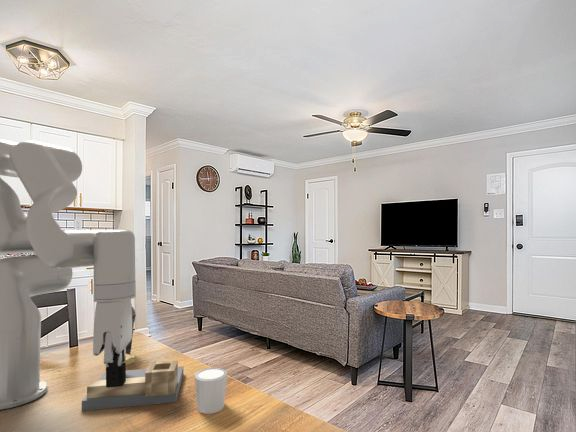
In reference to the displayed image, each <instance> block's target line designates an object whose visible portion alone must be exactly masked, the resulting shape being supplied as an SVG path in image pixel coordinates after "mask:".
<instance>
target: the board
mask: <svg viewBox="0 0 576 432" xmlns="http://www.w3.org/2000/svg"><path fill="white" fill-rule="evenodd" d="M184 367H185V366H181V365H180V366H178V382H177V386H176V389H175V393H174V394H168V395H157V396H145V393H144V394H132V395H121V396H109V397H97V398H87V394H86V395H85V396H84V398H83V399H82V400H81V412H83V411H93V410H95V411H96V410H103V409H105V410H106V409H114V408H124V407H125V408H126V407H127V408H128V407H135V406H137V407H138V406H146V405H159V404H167V403H177V400H178V396H179V392H180V388H181V386H182V381H183V377H184ZM147 369H148V368H144V369H131V370H130V369H128V370H127V369H126V378H136V377H145V372H146V371H147ZM98 380H106V371H105V372H104V373H103V374H102V376H100V378H99V379H98Z"/></svg>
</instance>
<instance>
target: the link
mask: <svg viewBox="0 0 576 432" xmlns="http://www.w3.org/2000/svg"><path fill="white" fill-rule="evenodd" d="M178 362H179V361H178V360H167V361H166V360H165V361H151V362H149V363H150V364H149V365H148V367H147V368H146V369H147V371H146V372H145V377H136V378H126V382H125V383H124V385H123V386H119V387H110V388H107V387H106V380H99V379H98V380H91V382H90V383H89V384H88V385H87V386H86V395H87V398H97V397H109V396H121V395H132V394H144V393H145V396H157V395H168V394H174V393H175V389H176V386H177V382H178V367H179V366H178Z"/></svg>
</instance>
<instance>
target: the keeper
mask: <svg viewBox="0 0 576 432" xmlns="http://www.w3.org/2000/svg"><path fill="white" fill-rule="evenodd" d="M136 360H137V356H135V355H133V354H132V355H131V354H130V355H129V354H126V359H125V362H126V366H127V365H130V364H132V363H135V362H136ZM125 362H122V363H125ZM103 364H104V365H106V364H105V363H104V362H103Z"/></svg>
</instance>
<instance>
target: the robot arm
mask: <svg viewBox="0 0 576 432" xmlns="http://www.w3.org/2000/svg"><path fill="white" fill-rule="evenodd" d="M82 172H83V164H82V160H81V158H80V156H79V155H78V153H77V152H75V151H74V150H72V149H70V148H67V147H63V146H59V145H55V144H50V143H46V142H41V141H36V140H24V141H20V142H16V141H15V142H14V141H11V140H5V139H1V138H0V176H3V177H4V176H5V177H11V178H12V177H13V178H18V179H19V180H20V181H21V184H22V185H23V186H24V189H25V190H26V193H27V194H28V196H29V197H30V199H31V202H32V204H31V206H30V207H29V210H28V212H27V213H25V212H24V210H23V208H22V205H21V202H20V199H19V196H18V194H17V193H16V191H15V189H13V188H12V186H10V185H9V184H8V183H7V182H6V181H5V180H4V179H2V177H0V255H15V254H29V253H31V254H32V253H33V255H23V256H22V255H21V256H8V257H4V258H1V259H0V410H7V409H11V408H15V407H19V406H22V405H25V404H27V403H30V402H34V401H35V400H36V399H38V398H40V397H43V395H45V393H46V392H47V391H48V383H47V382H46V381H44V380H40V374H41V373H40V372H41V340H42V339H41V337H42V336H41V335H42V334H41V333H42V330H41V329H42V317H41V311H40V310H39V308H38V307H37V305H36V304H35V303H34V301H33V300H32V297H35V296H38V295H45V294H49V293H50V294H52V293H55V292H59V291H62V290H65V289H66V288H67V287H68V286H69V285H70V284H71V282H72V280H73V268H80V267H81V268H82V267H93V302H95V303H96V304H95V308H94V309H95V310H94V317H93V318H94V319H93V333H92V334H93V339H92V341H93V342H92V354H93V355H94V356H95V357H96V356H99V355H100V354H101V353H103V364H104V363H105V364H104V365H105V372H106V387H107V388H110V387H119V386H123V385H124V383H125V382H126V371H127V369H126V367H127V365H126V362H125V359H126V346H127V345H128V344H129V342H130V341H131V339H132V340H133V336H132V307H133V305H132V300H133V299H135V298H136V292H137V291H136V285H137V283H136V238H135V234H134V232H133V231H131V230H128V229H108V230H107V229H105V230H100V229H99V230H98V229H97V230H96V229H93V230H92V229H91V230H90V229H88V230H87V229H79V230H78V229H72V230H71V229H66V230H63V229H62V228H61V226H60V225H59V223H58V222H57V220H55V217H54V215H53V214H55V213H58V212H60V211H62V210H64V209H66V208H68V206H70V205H71V204H73V203H74V202H75V200H76V198H77V196H78V189H77V187H76V186H75V184H74V183H73V182H75V181H77V180H78V179H79V178H80V176H81V175H82ZM122 362H125V363H122Z"/></svg>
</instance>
